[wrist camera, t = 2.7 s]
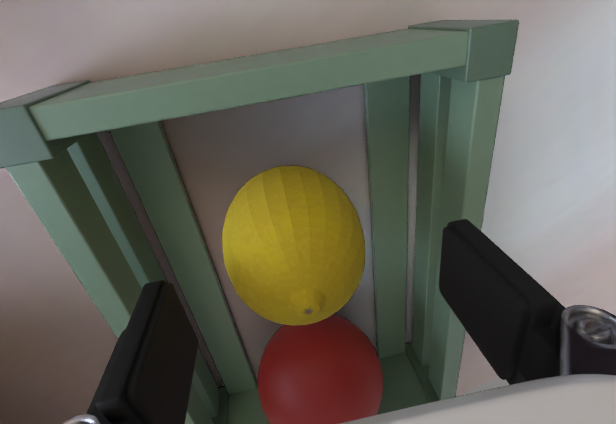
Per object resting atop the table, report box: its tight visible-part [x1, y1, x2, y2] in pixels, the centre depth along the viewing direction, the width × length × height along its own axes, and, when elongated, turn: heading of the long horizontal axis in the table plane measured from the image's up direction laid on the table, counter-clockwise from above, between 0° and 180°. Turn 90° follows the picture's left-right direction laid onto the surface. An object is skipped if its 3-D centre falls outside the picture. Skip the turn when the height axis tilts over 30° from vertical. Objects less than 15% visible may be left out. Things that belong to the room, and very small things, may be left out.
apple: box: [258, 314, 383, 424], centre depth 18 cm, size 7×7×8 cm
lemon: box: [222, 165, 365, 326], centre depth 13 cm, size 6×6×8 cm
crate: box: [0, 20, 519, 424], centre depth 17 cm, size 22×16×5 cm
